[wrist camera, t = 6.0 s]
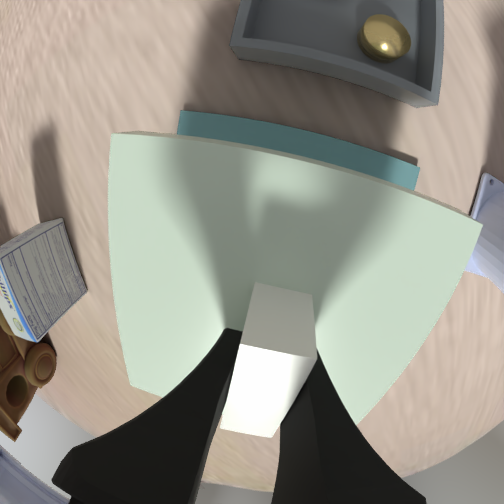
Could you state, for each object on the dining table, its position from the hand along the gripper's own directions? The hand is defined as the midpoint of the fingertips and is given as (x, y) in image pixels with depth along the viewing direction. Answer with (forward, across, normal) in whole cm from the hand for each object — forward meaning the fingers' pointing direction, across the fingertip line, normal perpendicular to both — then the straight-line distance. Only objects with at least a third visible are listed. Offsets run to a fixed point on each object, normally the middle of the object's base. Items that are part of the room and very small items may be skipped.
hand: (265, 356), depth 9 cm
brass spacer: (+10, -4, -16) cm, 19 cm away
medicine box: (+11, +20, +6) cm, 23 cm away
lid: (+2, 0, 0) cm, 2 cm away
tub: (+10, -1, -18) cm, 21 cm away
